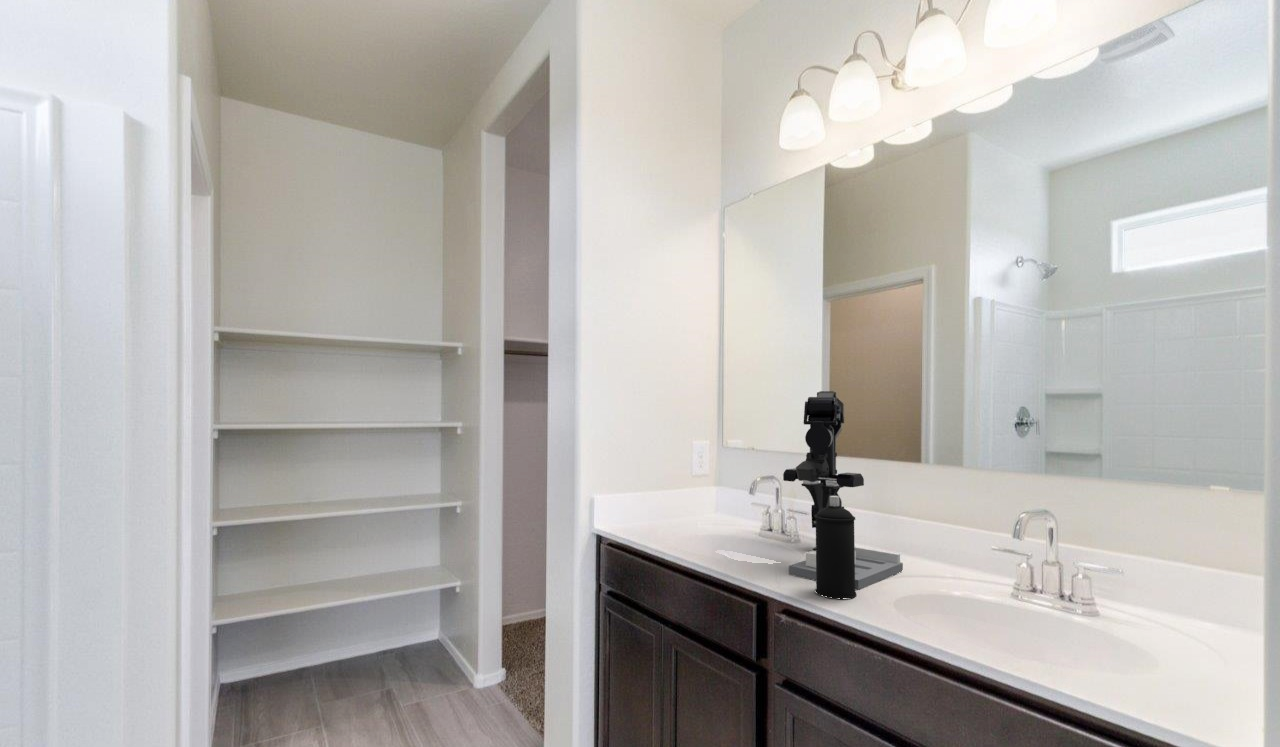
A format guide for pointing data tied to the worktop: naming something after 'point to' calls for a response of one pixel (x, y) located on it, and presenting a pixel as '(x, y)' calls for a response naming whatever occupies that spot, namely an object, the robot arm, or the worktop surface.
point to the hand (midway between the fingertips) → (822, 513)
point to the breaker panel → (861, 567)
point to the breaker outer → (811, 559)
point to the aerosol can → (835, 551)
